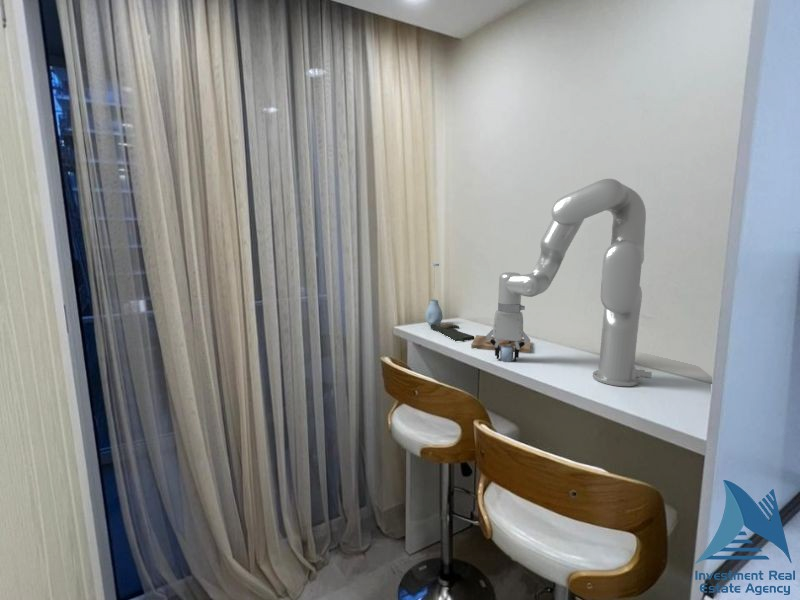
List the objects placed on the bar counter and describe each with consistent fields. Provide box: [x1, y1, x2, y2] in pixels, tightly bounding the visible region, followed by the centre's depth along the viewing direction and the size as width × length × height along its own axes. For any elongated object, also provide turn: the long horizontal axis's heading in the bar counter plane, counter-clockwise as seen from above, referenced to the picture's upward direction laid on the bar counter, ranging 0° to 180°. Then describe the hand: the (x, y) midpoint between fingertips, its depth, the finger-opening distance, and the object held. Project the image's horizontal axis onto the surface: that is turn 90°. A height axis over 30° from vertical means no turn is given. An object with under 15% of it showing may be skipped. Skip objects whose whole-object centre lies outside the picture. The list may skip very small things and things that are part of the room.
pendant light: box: [424, 263, 443, 326], centre depth 201 cm, size 8×8×30 cm
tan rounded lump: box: [495, 339, 509, 344], centre depth 167 cm, size 6×6×5 cm
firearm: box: [430, 323, 475, 342], centre depth 187 cm, size 28×2×15 cm
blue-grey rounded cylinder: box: [499, 345, 514, 363], centre depth 147 cm, size 4×4×5 cm
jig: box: [471, 334, 531, 354], centre depth 167 cm, size 22×16×2 cm
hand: (506, 358), depth 147 cm, fingers open, 5 cm apart
